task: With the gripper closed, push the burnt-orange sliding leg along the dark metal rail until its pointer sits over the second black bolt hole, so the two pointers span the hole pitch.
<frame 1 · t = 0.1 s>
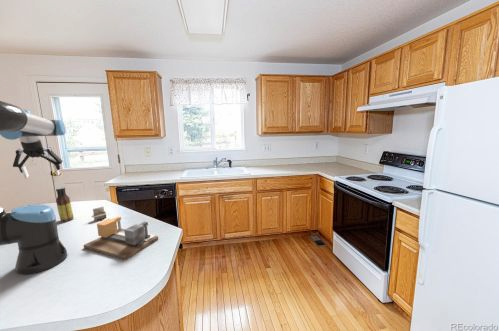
hand: (43, 176, 123), 28 cm above the countertop, tool tilted 20°, fingers open, 13 cm apart
sliding leg: (111, 226, 107), point 6 cm above the countertop, slide at 6.0 cm
architectural model: (100, 220, 132), on the countertop
brown board with bar: (122, 243, 103), on the countertop
sauce bottle: (66, 220, 132), on the countertop
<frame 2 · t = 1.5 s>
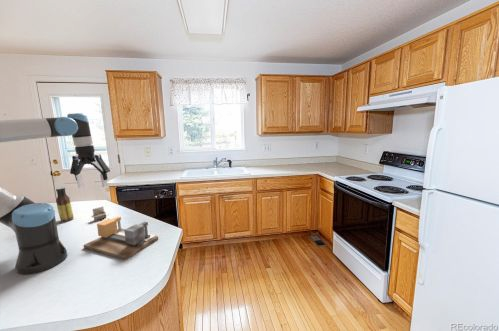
hand: (93, 186, 114), 24 cm above the countertop, tool pointing down, fingers open, 13 cm apart
nothing on the countertop moved.
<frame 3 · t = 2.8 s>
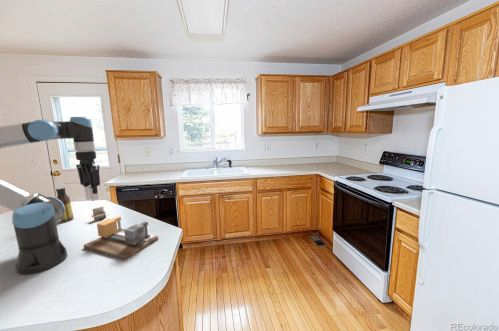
hand: (92, 199, 106), 20 cm above the countertop, tool pointing down, fingers open, 3 cm apart
nothing on the countertop moved.
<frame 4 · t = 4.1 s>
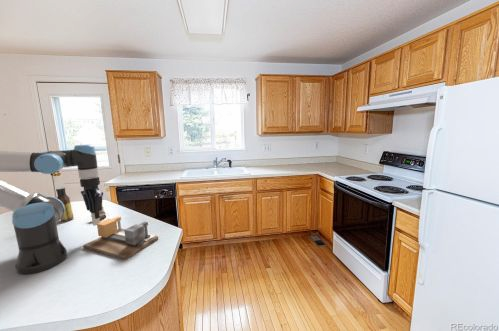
hand: (96, 224, 108), 7 cm above the countertop, tool pointing down, fingers closed
nothing on the countertop moved.
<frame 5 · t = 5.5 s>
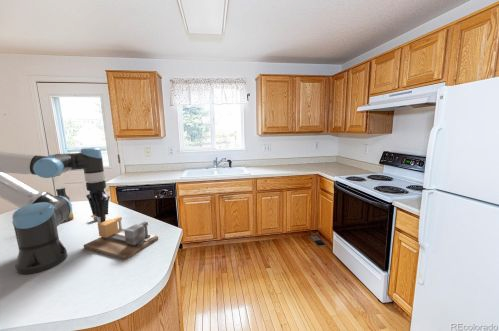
hand: (102, 228, 107), 5 cm above the countertop, tool pointing down, fingers closed
sliding leg: (111, 227, 107), point 6 cm above the countertop, slide at 5.4 cm, touching gripper
everything else where it was.
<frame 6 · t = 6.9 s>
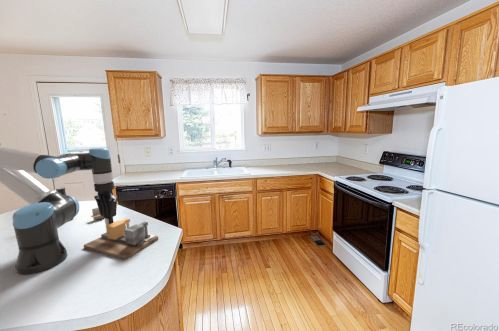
hand: (110, 230, 105), 5 cm above the countertop, tool pointing down, fingers closed
sliding leg: (120, 228, 104), point 6 cm above the countertop, slide at -0.2 cm, touching gripper
everything else where it was.
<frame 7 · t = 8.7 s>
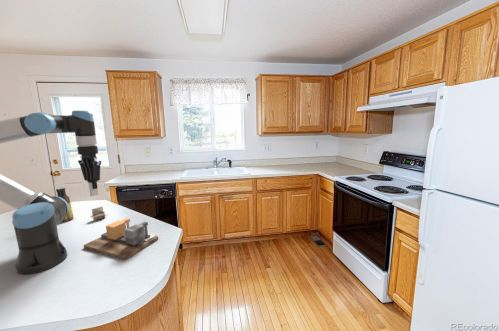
hand: (94, 195, 105), 22 cm above the countertop, tool pointing down, fingers closed
sliding leg: (120, 228, 104), point 6 cm above the countertop, slide at -0.2 cm
everything else where it was.
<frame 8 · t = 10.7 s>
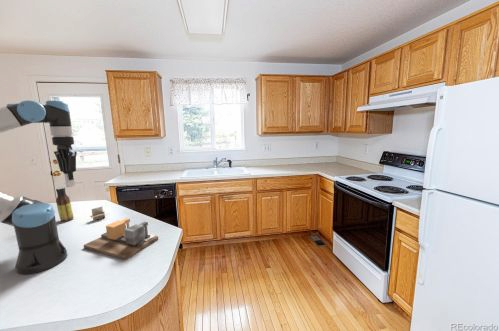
hand: (70, 186, 104), 26 cm above the countertop, tool pointing down, fingers closed
nothing on the countertop moved.
at the end: sliding leg slide at -0.2 cm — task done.
